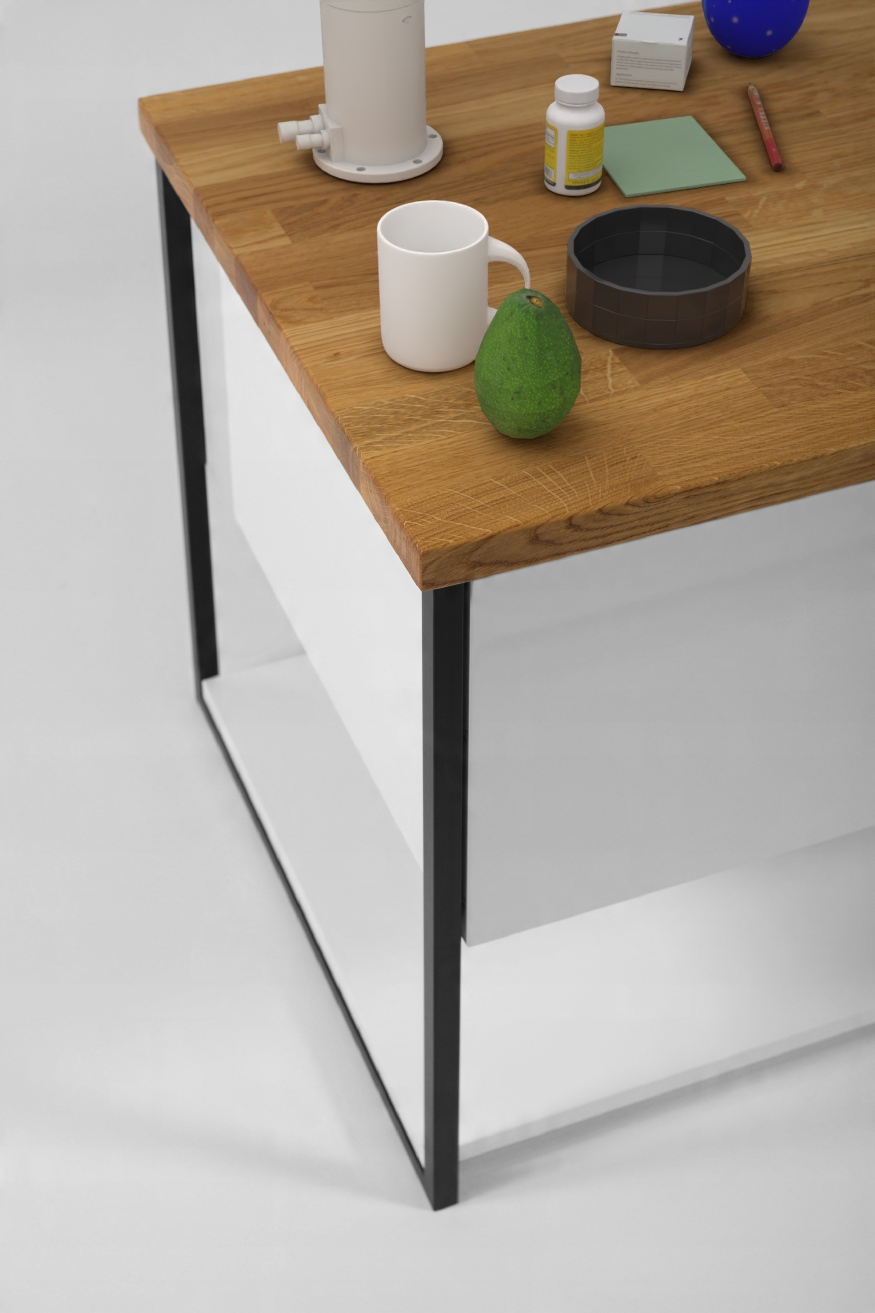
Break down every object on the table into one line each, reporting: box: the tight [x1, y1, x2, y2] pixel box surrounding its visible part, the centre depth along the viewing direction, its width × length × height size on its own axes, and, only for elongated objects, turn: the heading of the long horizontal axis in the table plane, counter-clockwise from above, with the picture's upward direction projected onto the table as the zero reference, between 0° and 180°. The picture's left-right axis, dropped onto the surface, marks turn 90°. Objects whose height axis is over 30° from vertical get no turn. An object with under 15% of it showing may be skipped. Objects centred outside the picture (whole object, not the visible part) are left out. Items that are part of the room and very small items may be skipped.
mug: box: [376, 199, 531, 373], centre depth 129 cm, size 9×12×11 cm
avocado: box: [473, 287, 583, 440], centre depth 120 cm, size 8×8×12 cm
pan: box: [564, 203, 753, 350], centre depth 136 cm, size 15×15×5 cm
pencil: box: [747, 82, 784, 172], centre depth 161 cm, size 19×1×1 cm, turn 0°
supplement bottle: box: [543, 73, 606, 197], centre depth 150 cm, size 5×5×10 cm
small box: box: [609, 10, 695, 92], centre depth 169 cm, size 8×8×5 cm
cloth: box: [602, 115, 747, 198], centre depth 157 cm, size 12×14×1 cm
